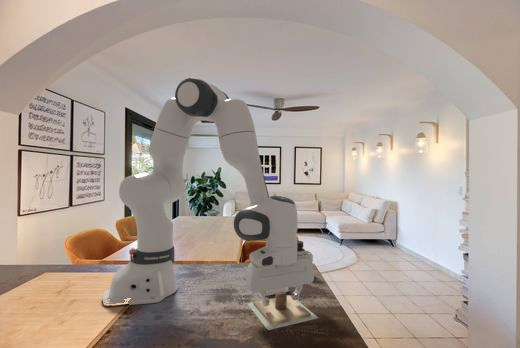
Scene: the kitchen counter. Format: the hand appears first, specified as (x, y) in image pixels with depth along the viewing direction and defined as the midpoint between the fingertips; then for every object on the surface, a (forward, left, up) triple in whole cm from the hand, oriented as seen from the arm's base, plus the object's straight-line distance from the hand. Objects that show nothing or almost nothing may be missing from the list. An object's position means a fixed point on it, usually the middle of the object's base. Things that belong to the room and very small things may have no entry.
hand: (280, 302), depth 80 cm
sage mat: (0, 0, -3) cm, 3 cm away
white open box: (+3, +15, -3) cm, 16 cm away
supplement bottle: (+20, +25, -3) cm, 32 cm away
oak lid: (0, 0, -2) cm, 2 cm away
